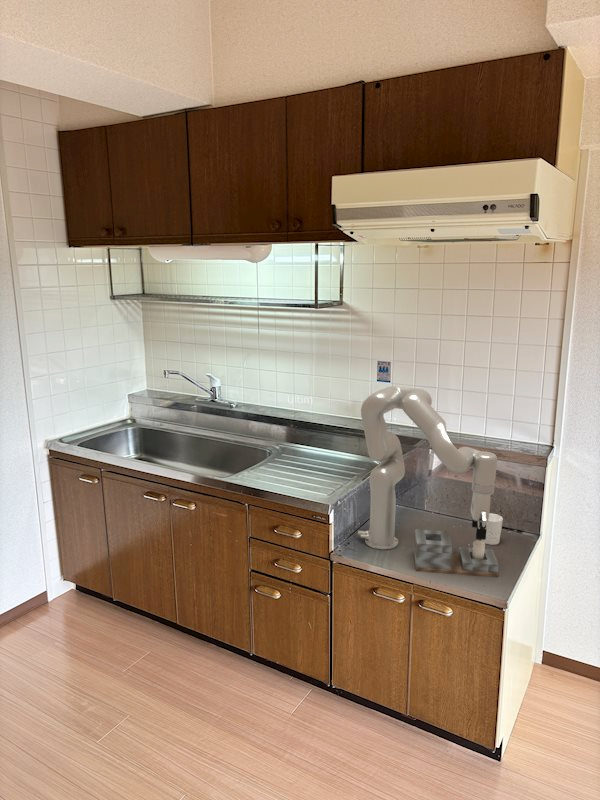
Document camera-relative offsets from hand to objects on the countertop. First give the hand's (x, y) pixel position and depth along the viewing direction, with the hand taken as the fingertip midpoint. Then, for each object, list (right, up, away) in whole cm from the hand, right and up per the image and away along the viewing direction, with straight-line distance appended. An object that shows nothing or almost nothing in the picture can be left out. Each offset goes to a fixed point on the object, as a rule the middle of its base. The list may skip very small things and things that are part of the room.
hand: (478, 533), depth 216 cm
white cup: (+11, -8, +23) cm, 27 cm away
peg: (0, -11, +2) cm, 12 cm away
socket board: (-8, -12, +3) cm, 15 cm away
